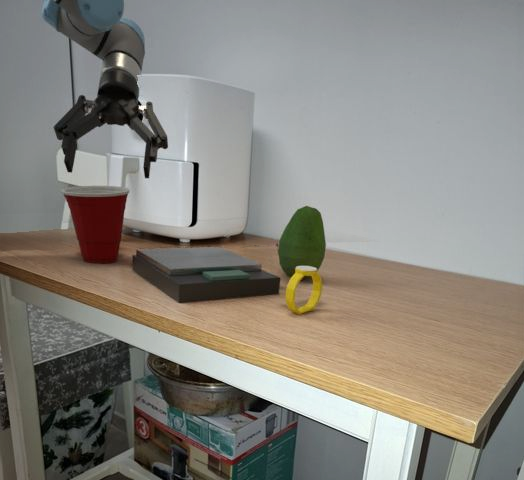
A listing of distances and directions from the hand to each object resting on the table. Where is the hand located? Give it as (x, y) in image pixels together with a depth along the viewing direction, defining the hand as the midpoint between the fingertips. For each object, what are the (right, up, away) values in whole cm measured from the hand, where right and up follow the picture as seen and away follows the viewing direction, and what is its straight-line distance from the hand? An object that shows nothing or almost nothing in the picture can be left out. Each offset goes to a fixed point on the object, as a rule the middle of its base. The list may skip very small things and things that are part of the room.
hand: (107, 170), depth 87 cm
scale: (+18, -22, -11) cm, 30 cm away
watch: (+33, -27, -22) cm, 48 cm away
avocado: (+34, -20, -4) cm, 40 cm away
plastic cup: (0, -17, -3) cm, 17 cm away
